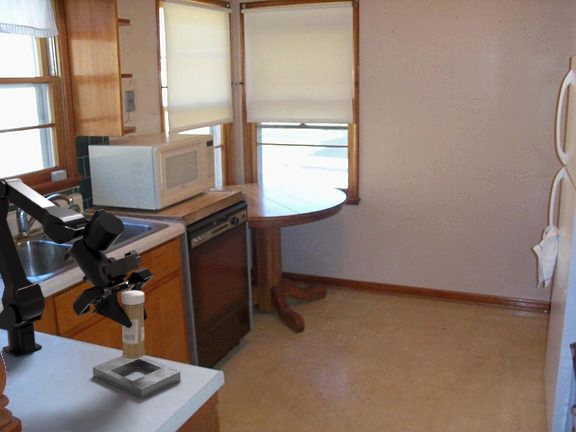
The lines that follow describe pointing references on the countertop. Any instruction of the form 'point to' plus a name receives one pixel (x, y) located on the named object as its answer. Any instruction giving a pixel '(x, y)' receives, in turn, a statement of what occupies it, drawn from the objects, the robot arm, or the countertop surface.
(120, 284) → the robot arm
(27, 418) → the countertop surface
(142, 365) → the gray rectangular frame
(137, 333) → the sprinkles bottle
